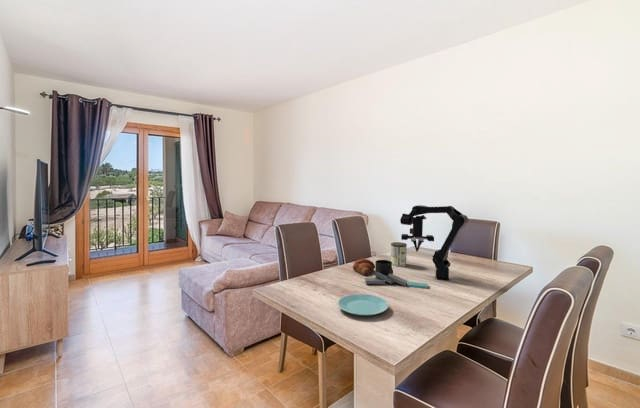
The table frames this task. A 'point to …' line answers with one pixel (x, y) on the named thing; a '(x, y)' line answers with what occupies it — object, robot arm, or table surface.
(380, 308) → the plate
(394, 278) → the domino
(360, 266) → the pastry
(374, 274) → the domino
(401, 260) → the coffee can
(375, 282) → the domino
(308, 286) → the table surface
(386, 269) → the mug
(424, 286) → the domino
